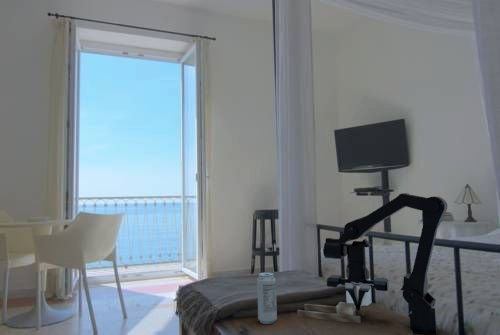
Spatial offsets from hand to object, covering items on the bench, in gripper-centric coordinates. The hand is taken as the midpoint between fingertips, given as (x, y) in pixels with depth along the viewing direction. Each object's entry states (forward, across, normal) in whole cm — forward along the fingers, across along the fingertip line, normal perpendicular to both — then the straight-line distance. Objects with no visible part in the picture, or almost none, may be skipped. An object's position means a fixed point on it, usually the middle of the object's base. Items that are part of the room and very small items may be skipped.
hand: (358, 310), depth 123 cm
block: (+3, +4, 0) cm, 5 cm away
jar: (+4, +3, -19) cm, 20 cm away
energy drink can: (+4, +27, +11) cm, 29 cm away
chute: (+3, +9, 0) cm, 10 cm away
